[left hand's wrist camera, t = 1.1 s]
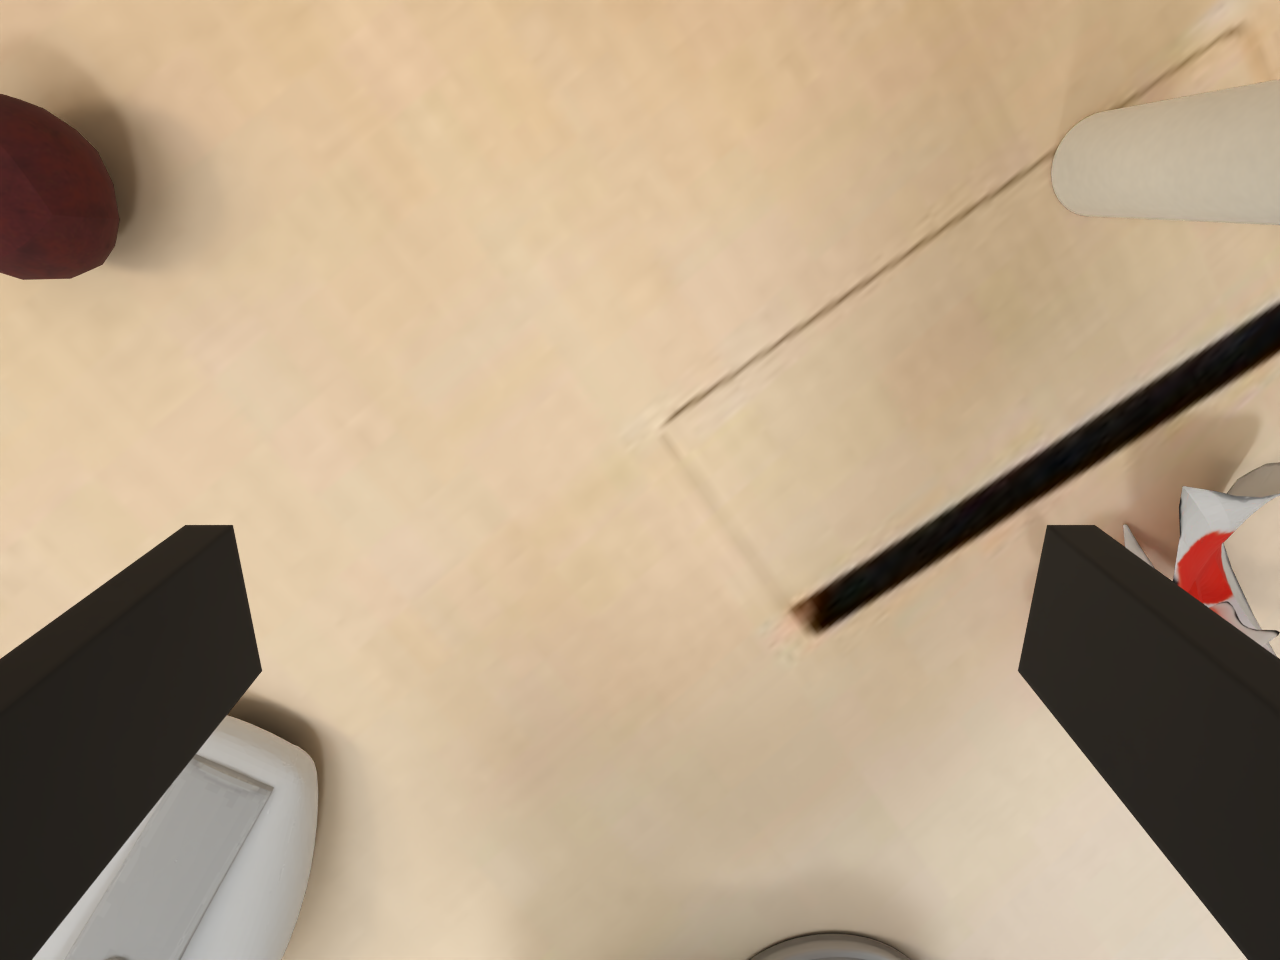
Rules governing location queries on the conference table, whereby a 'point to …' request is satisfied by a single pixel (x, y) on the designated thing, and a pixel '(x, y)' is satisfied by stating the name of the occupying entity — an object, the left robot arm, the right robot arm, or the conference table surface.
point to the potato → (51, 197)
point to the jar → (1177, 159)
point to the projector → (207, 861)
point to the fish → (1218, 546)
